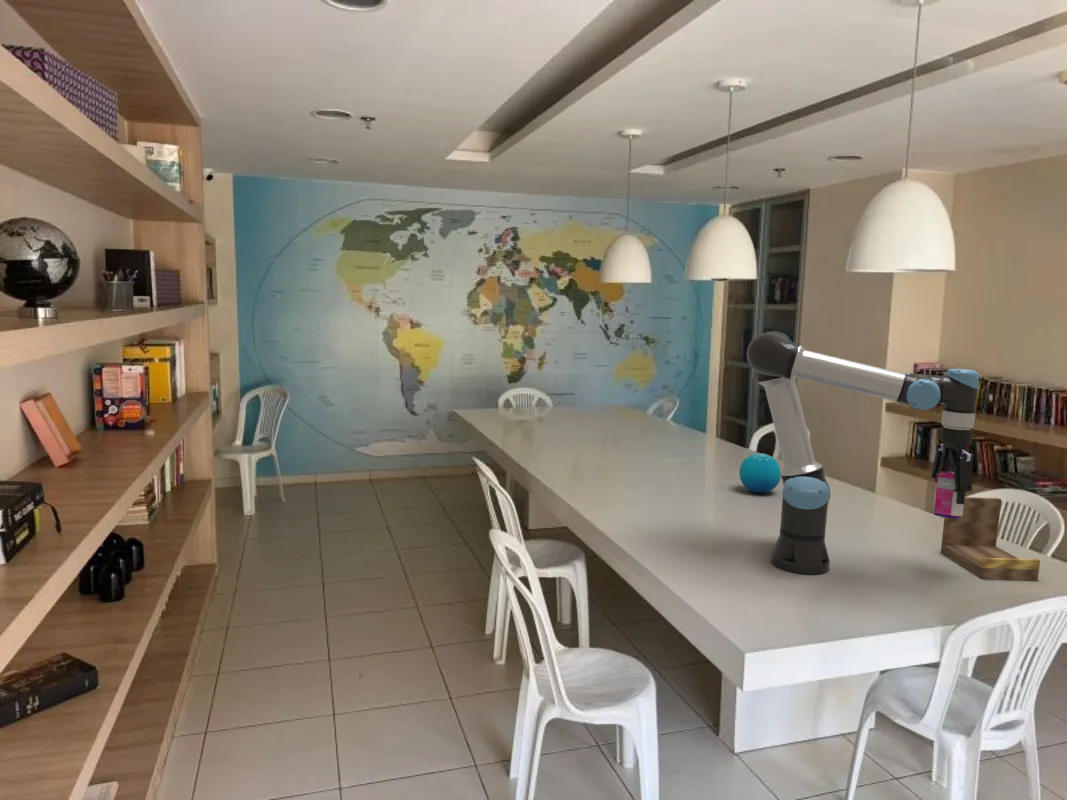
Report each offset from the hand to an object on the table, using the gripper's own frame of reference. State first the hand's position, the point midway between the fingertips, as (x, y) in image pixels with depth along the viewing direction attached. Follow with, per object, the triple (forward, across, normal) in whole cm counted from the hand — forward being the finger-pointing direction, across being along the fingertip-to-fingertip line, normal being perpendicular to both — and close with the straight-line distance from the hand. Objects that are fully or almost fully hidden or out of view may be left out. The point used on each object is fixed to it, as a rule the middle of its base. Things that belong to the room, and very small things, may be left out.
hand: (947, 510), depth 200 cm
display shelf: (+17, +5, -16) cm, 24 cm away
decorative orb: (+17, +79, +26) cm, 85 cm away
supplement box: (+1, 0, 0) cm, 1 cm away
